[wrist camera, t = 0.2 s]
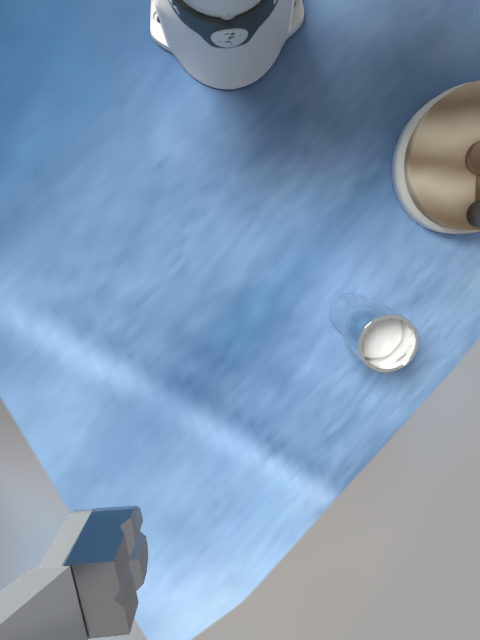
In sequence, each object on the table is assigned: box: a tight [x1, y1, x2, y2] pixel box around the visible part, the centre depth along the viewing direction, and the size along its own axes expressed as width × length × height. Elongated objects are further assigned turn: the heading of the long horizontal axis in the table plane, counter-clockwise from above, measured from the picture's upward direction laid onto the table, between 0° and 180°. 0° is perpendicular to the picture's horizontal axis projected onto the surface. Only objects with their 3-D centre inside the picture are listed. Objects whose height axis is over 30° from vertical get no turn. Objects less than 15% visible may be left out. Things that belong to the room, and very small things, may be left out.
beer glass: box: [330, 293, 419, 372], centre depth 49 cm, size 7×7×15 cm
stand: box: [391, 82, 480, 234], centre depth 49 cm, size 18×20×6 cm
